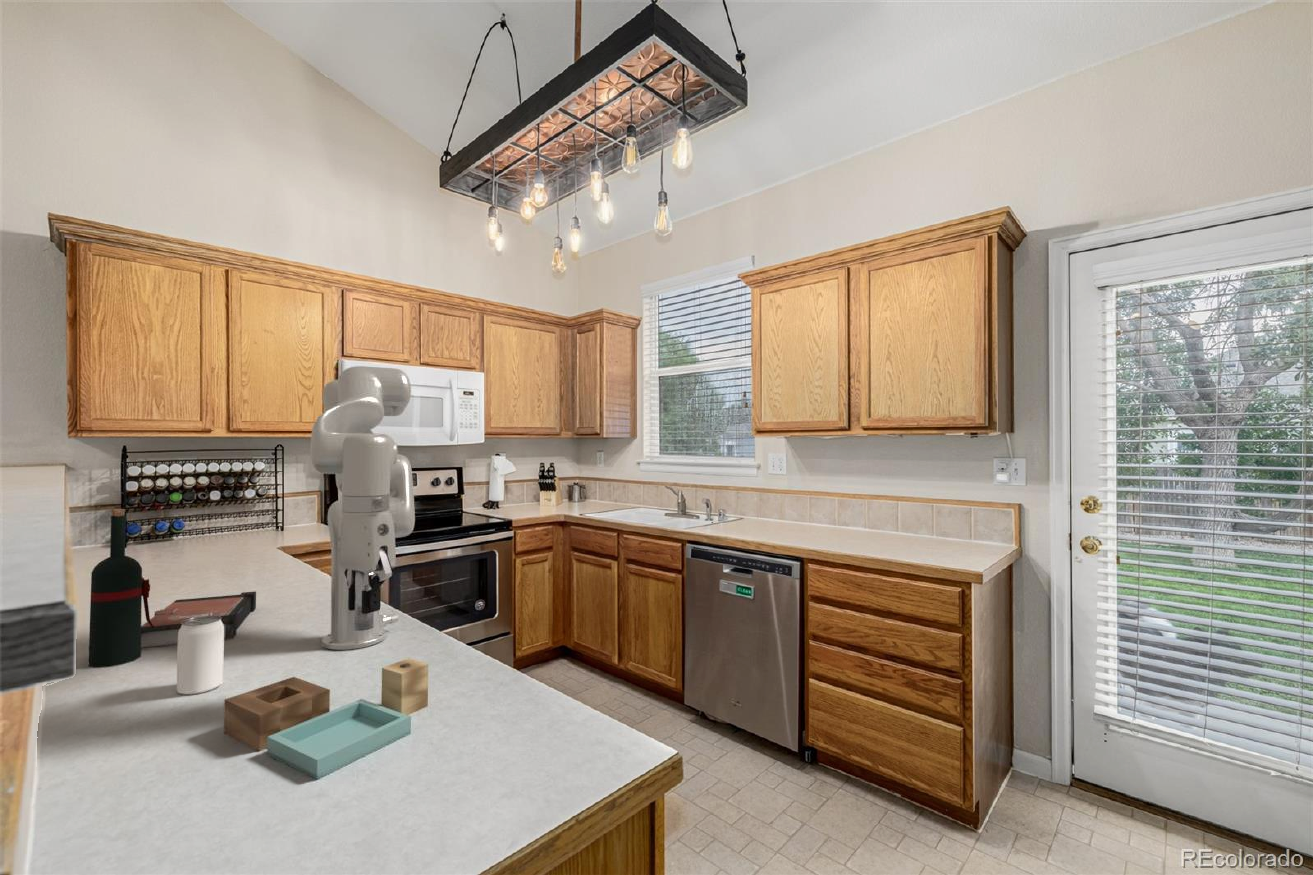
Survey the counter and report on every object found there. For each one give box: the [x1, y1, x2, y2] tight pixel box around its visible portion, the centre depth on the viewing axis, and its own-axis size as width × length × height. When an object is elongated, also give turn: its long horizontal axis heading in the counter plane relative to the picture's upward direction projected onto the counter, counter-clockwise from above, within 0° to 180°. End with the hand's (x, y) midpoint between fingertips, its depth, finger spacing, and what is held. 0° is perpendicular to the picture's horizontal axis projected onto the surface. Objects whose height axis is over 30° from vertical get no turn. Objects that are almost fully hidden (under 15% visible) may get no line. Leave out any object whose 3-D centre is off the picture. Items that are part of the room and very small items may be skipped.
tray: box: [266, 698, 412, 780], centre depth 84 cm, size 14×12×2 cm
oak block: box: [380, 657, 429, 716], centre depth 95 cm, size 5×5×7 cm
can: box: [176, 616, 225, 696], centre depth 103 cm, size 6×6×12 cm
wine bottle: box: [87, 508, 156, 669], centre depth 117 cm, size 8×10×30 cm
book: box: [141, 590, 257, 650], centre depth 137 cm, size 26×18×5 cm
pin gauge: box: [354, 571, 374, 631], centre depth 101 cm, size 3×3×10 cm
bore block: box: [223, 676, 331, 752], centre depth 88 cm, size 10×10×5 cm
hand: (364, 609), depth 101 cm, fingers closed on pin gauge, 3 cm apart
